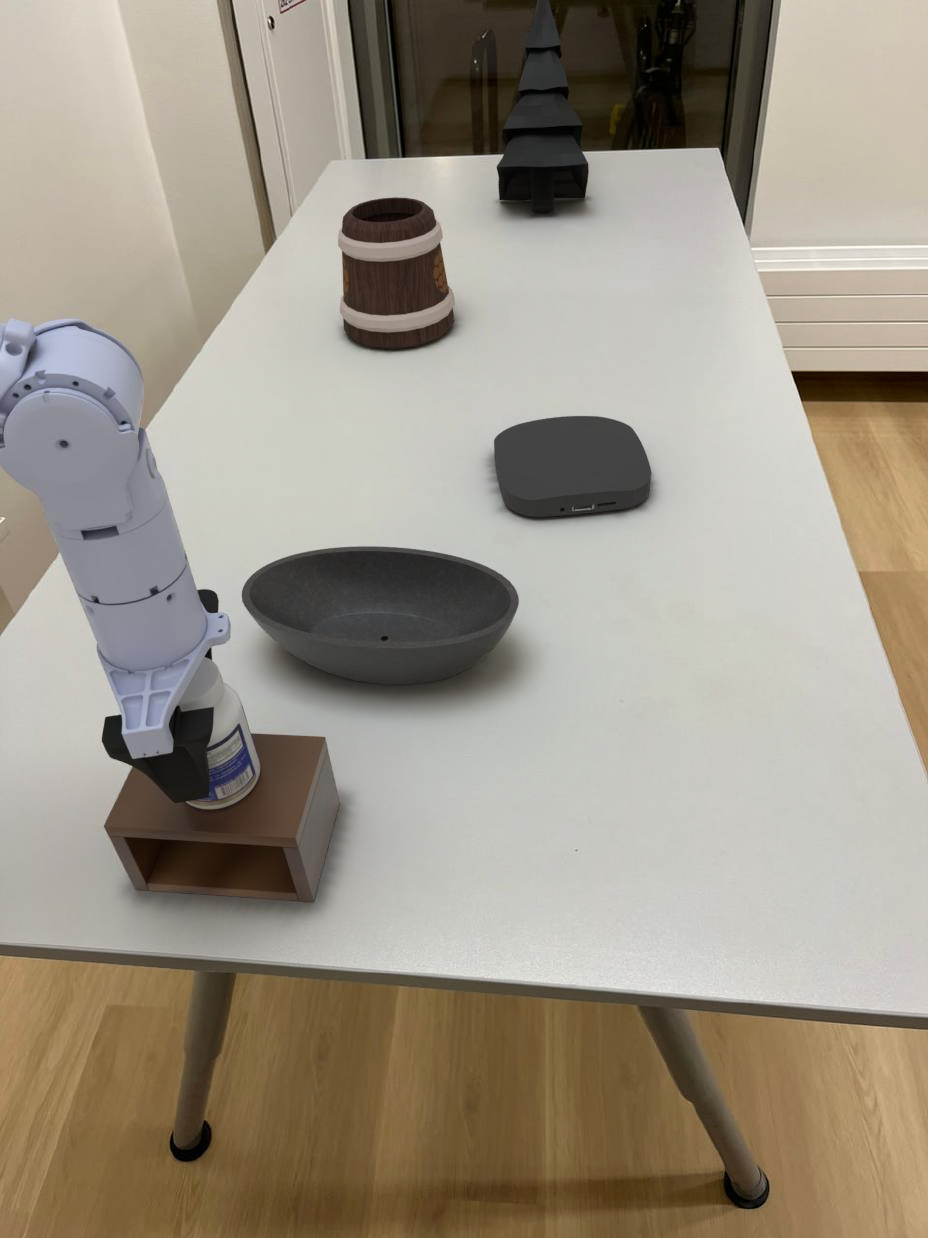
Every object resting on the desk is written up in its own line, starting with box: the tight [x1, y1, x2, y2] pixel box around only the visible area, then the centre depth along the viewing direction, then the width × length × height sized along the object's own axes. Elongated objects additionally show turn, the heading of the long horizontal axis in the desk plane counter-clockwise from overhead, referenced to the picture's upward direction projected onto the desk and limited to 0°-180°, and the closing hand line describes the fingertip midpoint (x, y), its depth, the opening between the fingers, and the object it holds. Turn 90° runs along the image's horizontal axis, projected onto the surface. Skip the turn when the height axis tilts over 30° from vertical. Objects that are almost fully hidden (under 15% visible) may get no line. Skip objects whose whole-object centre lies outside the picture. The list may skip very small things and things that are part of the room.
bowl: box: [241, 545, 520, 685], centre depth 76 cm, size 12×22×6 cm, turn 79°
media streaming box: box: [493, 415, 652, 518], centre depth 95 cm, size 15×15×3 cm
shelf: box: [103, 732, 341, 903], centre depth 62 cm, size 12×8×7 cm, turn 84°
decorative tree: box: [496, 0, 590, 214], centre depth 153 cm, size 15×15×35 cm
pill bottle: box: [177, 657, 260, 809], centre depth 57 cm, size 5×5×9 cm
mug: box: [337, 196, 456, 350], centre depth 123 cm, size 20×15×15 cm
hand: (194, 746), depth 58 cm, fingers open, 7 cm apart
